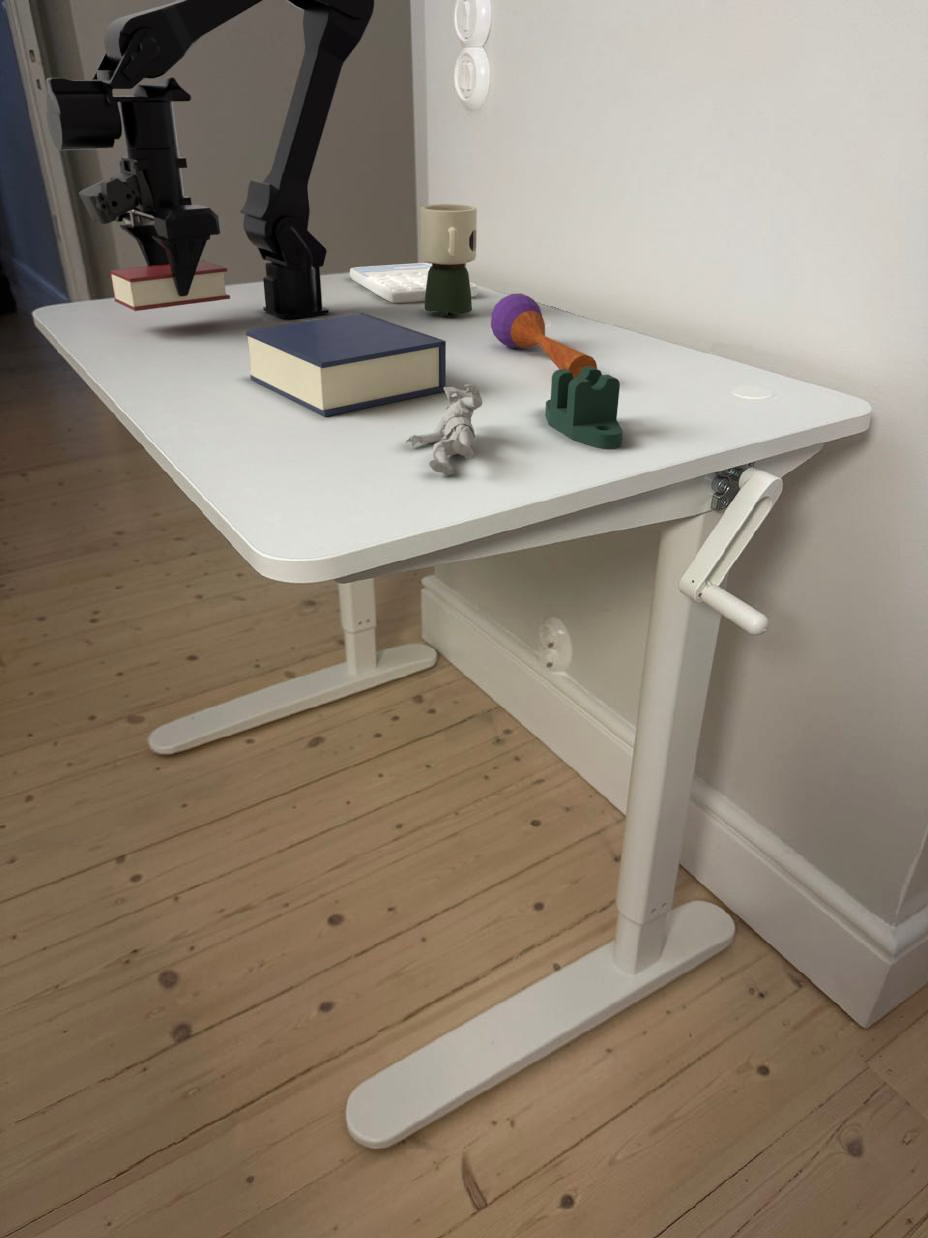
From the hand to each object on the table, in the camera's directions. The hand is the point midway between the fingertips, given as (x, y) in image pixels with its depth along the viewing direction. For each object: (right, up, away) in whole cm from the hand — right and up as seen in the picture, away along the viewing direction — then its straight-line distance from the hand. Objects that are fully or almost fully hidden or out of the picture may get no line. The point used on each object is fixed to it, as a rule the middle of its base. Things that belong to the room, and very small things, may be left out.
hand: (171, 291), depth 115 cm
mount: (+46, -23, -29) cm, 59 cm away
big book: (+23, -16, -18) cm, 34 cm away
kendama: (+44, -11, -10) cm, 46 cm away
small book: (0, -1, 0) cm, 1 cm away
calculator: (+28, +9, +25) cm, 39 cm away
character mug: (+33, 0, +11) cm, 35 cm away
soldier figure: (+35, -26, -35) cm, 55 cm away
